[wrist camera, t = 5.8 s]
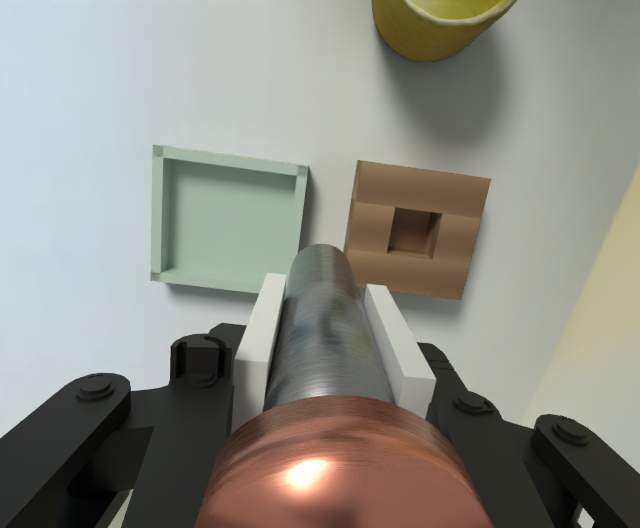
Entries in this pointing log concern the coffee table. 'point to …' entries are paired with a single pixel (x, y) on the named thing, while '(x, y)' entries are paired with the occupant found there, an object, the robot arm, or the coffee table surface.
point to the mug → (434, 25)
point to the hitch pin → (335, 429)
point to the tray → (223, 218)
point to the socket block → (413, 228)
